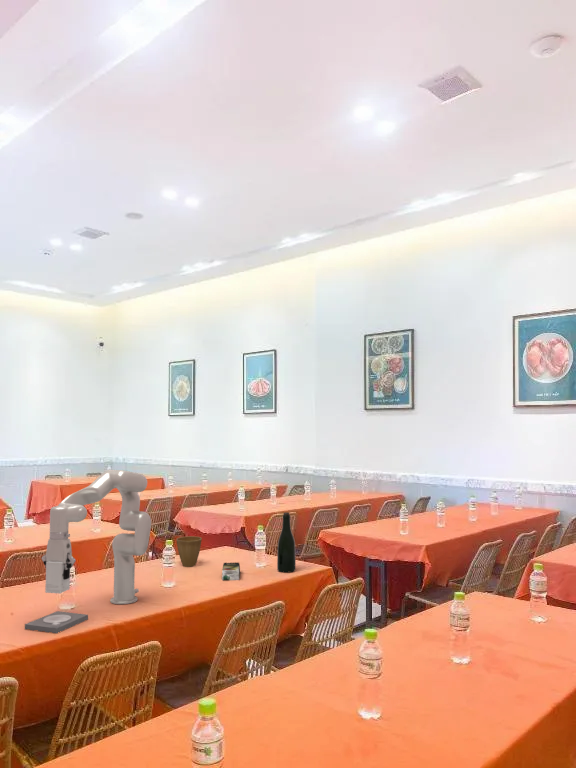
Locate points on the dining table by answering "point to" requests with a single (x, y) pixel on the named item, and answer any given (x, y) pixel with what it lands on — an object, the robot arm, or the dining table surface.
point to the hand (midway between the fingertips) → (57, 577)
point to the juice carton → (231, 571)
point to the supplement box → (56, 578)
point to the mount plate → (56, 621)
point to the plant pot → (189, 550)
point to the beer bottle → (286, 547)
